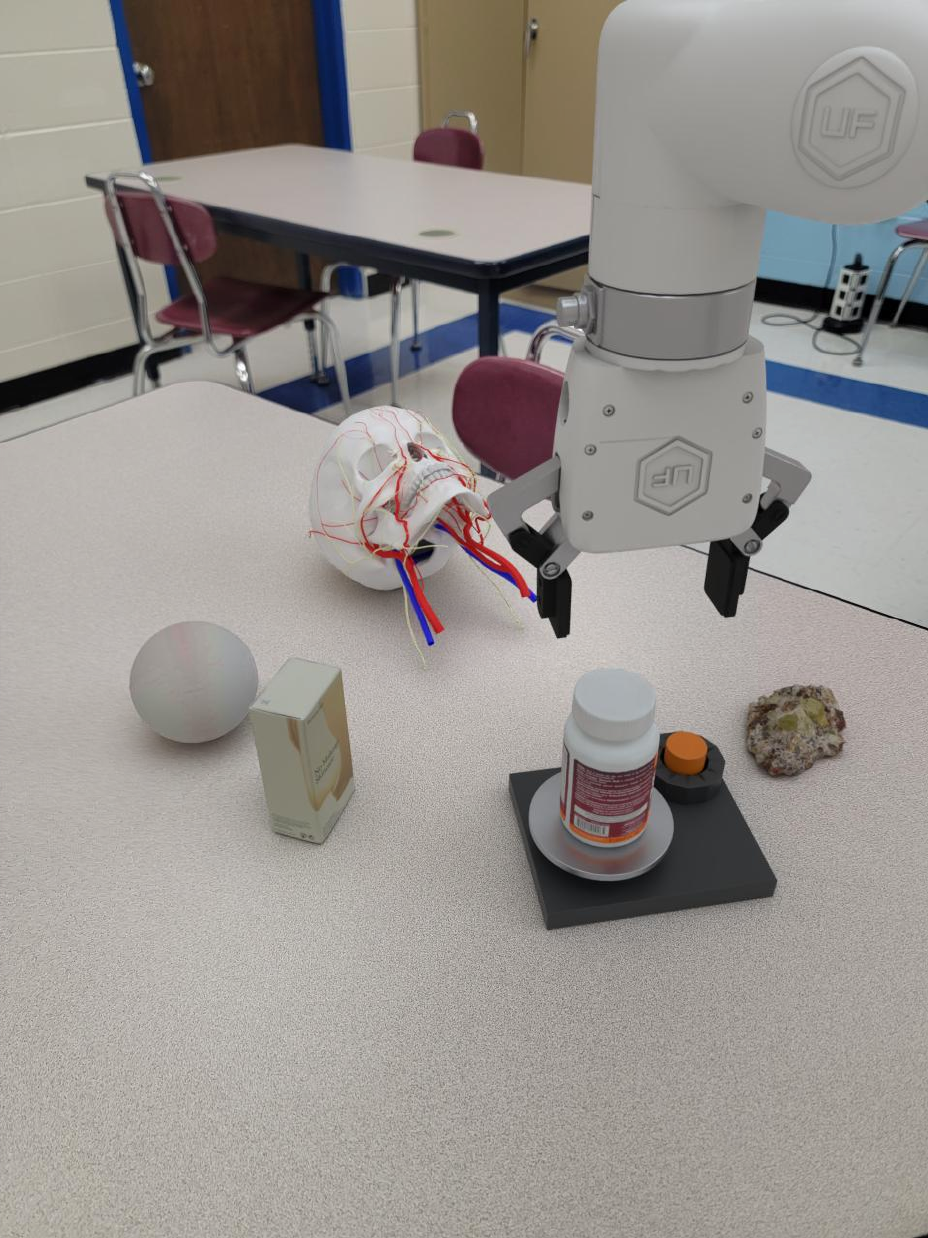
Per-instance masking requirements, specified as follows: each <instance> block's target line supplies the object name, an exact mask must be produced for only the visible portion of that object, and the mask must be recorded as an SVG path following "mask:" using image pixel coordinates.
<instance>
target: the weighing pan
mask: <svg viewBox="0 0 928 1238" xmlns="http://www.w3.org/2000/svg"><path fill="white" fill-rule="evenodd" d="M560 786H561V772H560V773H557V774H556V775H554V776H552V777H551V778H549V779H548V780H547V781H545V782H544V783H543V784H542V785H541V786H540V787H539V789H538V790H537V791H536V793H535V794H534V796H533V798H532V801H531V804H530V809H529V827H530V832H531V835H532V837H533V840H534V842H535V843H536V845H537V847H538V848H539V849H540V851H541V852H542V853H543V854H544V855H545V856H546V857H547V858H548V859H549V860H550V861H551V862H553V863H554V864H555V865H557V866H558V867H560V868H562V869H563V870H565V871H567V872H569V873H572V874H574V875H577V876H580V877H583V878H587V879H592V880H600V881H616V880H624V879H629V878H633V877H636V876H639V875H641V874H643V873H645V872H647V871H649V870H650V869H652V868H653V867H655V866H656V865H657V864H658V863H659V862H660V861H661V860H662V859H663V858H664V856H665V855H666V854H667V852H668V850H669V848H670V845H671V842H672V838H673V831H674V821H673V816H672V813H671V810H670V808H669V806H668V804H667V802H666V800H665V799H664V798H663V796H662V795H661V794H660V793H659V792H658V791H657V790H656V789H655V788H654V787H653V793H652V799H651V806H650V813H649V818H648V823H647V826H646V828H645V830H644V832H643V833H642V834H641V835H640V836H639V837H638V838H637V839H635V840H634V841H632V842H630V843H628V844H626V845H623V846H618V847H597V846H593V845H590V844H587V843H584V842H582V841H580V840H579V839H577V838H576V837H574V836H573V835H572V834H571V833H570V832H569V831H568V830H567V828H566V827H565V825H564V823H563V821H562V819H561V816H560Z"/></svg>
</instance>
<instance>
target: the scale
mask: <svg viewBox="0 0 928 1238" xmlns="http://www.w3.org/2000/svg"><path fill="white" fill-rule="evenodd" d="M677 732H685V731H683V730H679V731H678V730H677V731H671V732H663V733H659V735H660V741H659V749H658V756H657V764H656V771H655V779H654V785H653V787H654V788H655V789H656V790H657V791H658V792H659V793H660V794H661V795H662V796H663V798H664V799H665V800H666V802H667V804H668V806H669V808H670V810H671V813H672V816H673V821H674V831H673V838H672V842H671V845H670V848H669V850H668V852H667V854H666V855H665V856H664V858H663V859H662V860H661V861H660V862H659V863H658V864H657V865H656V866H655V867H653V868H652V869H650V870H649V871H647V872H645V873H643V874H641V875H639V876H636V877H633V878H629V879H624V880H616V881H600V880H592V879H587V878H583V877H580V876H577V875H574V874H572V873H569V872H567V871H565V870H563V869H562V868H560V867H558V866H557V865H555V864H554V863H553V862H551V861H550V860H549V859H548V858H547V857H546V856H545V855H544V854H543V853H542V852H541V851H540V849H539V848H538V847H537V845H536V843H535V842H534V840H533V837H532V835H531V832H530V827H529V809H530V804H531V801H532V798H533V796H534V794H535V793H536V791H537V790H538V789H539V787H540V786H541V785H542V784H543V783H544V782H545V781H547V780H548V779H549V778H551V777H552V776H554V775H556V774H557V773H560V772H561V769H562V766H559V767H558V766H557V767H549V768H543V769H542V768H541V769H536V770H535V769H533V770H528V771H520V772H510V773H509V774H508V792H509V795H510V799H511V802H512V806H513V810H514V813H515V817H516V821H517V825H518V829H519V833H520V836H521V839H522V843H523V848H524V850H525V851H524V852H525V855H526V857H527V863H528V865H529V869H530V873H531V877H532V880H533V884H534V888H535V891H536V896H537V899H538V902H539V906H540V910H541V913H542V917H543V920H544V921H543V922H544V924H545V928H546V930H547V931H549V930H554V929H561V928H567V927H574V926H581V925H589V924H596V923H602V922H606V921H607V922H609V921H616V920H621V919H629V918H636V917H642V916H649V915H655V914H662V913H667V912H675V911H682V910H688V909H694V908H702V907H708V906H714V905H716V906H717V905H722V904H729V903H736V902H742V901H748V900H757V899H762V898H769V897H774V894H775V891H776V888H777V884H778V879H777V877H776V875H775V873H774V871H773V869H772V868H771V865H770V864H769V862H768V860H767V858H766V856H765V854H764V853H763V851H762V849H761V847H760V845H759V843H758V841H757V840H756V838H755V836H754V834H753V832H752V830H751V829H750V826H749V825H748V823H747V821H746V819H745V817H744V815H743V813H742V811H741V810H740V808H739V806H738V804H737V803H736V800H735V798H734V796H733V795H732V793H731V791H730V789H729V787H728V786H727V783H726V782H725V780H724V778H723V777H724V771H725V767H726V759H725V758H724V756H723V753H722V752H721V749H720V748H719V747H718V745H716V744H714V743H713V742H712V741H710V740H709V739H707V738H705V737H704V736H702V735H700V734H697V735H698V736H700V737H701V738H702V739H703V740H704V741H705V742H706V745H707V754H706V759H705V764H704V768H703V770H702V771H701V772H700V773H698V774H696V775H692V776H684V775H680V774H676V773H674V772H672V771H671V770H669V769H668V768H667V766H666V765H665V763H664V754H665V748H666V742H667V739H668V738H669V736H671V735H672V734H674V733H677Z"/></svg>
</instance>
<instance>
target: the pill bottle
mask: <svg viewBox="0 0 928 1238" xmlns="http://www.w3.org/2000/svg"><path fill="white" fill-rule="evenodd" d="M656 707H657V693H656V690H655V688H654V687H653V685H652V684H651V683H650V682H649V680H647V679H646V678H645V677H644V676H642V675H640V674H639V673H636V672H634V671H632V670H628V669H624V668H620V667H619V668H618V667H603V668H598V669H594V670H591V671H589V672H587V673H585V674H583V675H582V676H581V677H580V678H579V679H578V680H577V681H576V683H575V685H574V688H573V696H572V704H571V712H570V713H569V715H568V716H567V718H566V720H565V723H564V727H563V737H562V751H561V752H562V753H561V756H562V757H561V767H562V769H561V786H560V816H561V819H562V821H563V823H564V825H565V827H566V828H567V830H568V831H569V832H570V833H571V834H572V835H573V836H574V837H576V838H577V839H579V840H580V841H582V842H584V843H587V844H590V845H593V846H597V847H618V846H623V845H626V844H628V843H630V842H632V841H634V840H635V839H637V838H638V837H639V836H640V835H641V834H642V833H643V832H644V830H645V828H646V826H647V823H648V818H649V813H650V806H651V799H652V793H653V785H654V779H655V771H656V764H657V756H658V749H659V741H660V730H659V729H660V728H659V726H658V724H657V722H656V720H655V719H656V718H655V717H656Z"/></svg>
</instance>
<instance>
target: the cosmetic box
mask: <svg viewBox="0 0 928 1238" xmlns="http://www.w3.org/2000/svg"><path fill="white" fill-rule="evenodd" d="M248 714H249V718H250V722H251V728H252V733H253V739H254V743H255V748H256V754H257V759H258V764H259V769H260V775H261V779H262V785H263V790H264V796H265V802H266V806H267V813H268V817H269V821H270V827H271V831H272V832H274V833H278V834H282V835H285V836H289V837H291V838H294V839H299V840H303V841H307V842H311V843H316V844H322V843H324V841H325V840H326V838H327V837H328V835H329V834H330V832H331V831H332V829H333V827H334V826H335V824H336V822H337V821H338V819H339V818H340V816H341V814H342V813H343V811H344V810H345V808H346V805H348V803H349V801H350V798H351V797H352V795H353V793H354V791H355V789H356V785H355V784H356V783H355V776H354V769H353V759H352V751H351V750H352V749H351V742H350V733H349V725H348V717H347V707H346V698H345V690H344V682H343V672H342V668H341V667H339V666H334V665H330V664H325V663H323V662H318V661H314V660H313V661H312V660H309V659H303V658H300V657H295V656H290V657H288V659H287V660H286V661H285V662H284V663H283V664H282V666H281V667H280V668H279V669H278V671H277V672H276V673H275V674H274V675H273V676H272V678H270V680H269V681H268V682H267V683H266V685H265V686H264V687H263V689H262V690H261V692H260V693H259V694H257V696H256V697H255V699H254V701H253V703H252V704H251V705H250V706H249V712H248Z"/></svg>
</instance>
